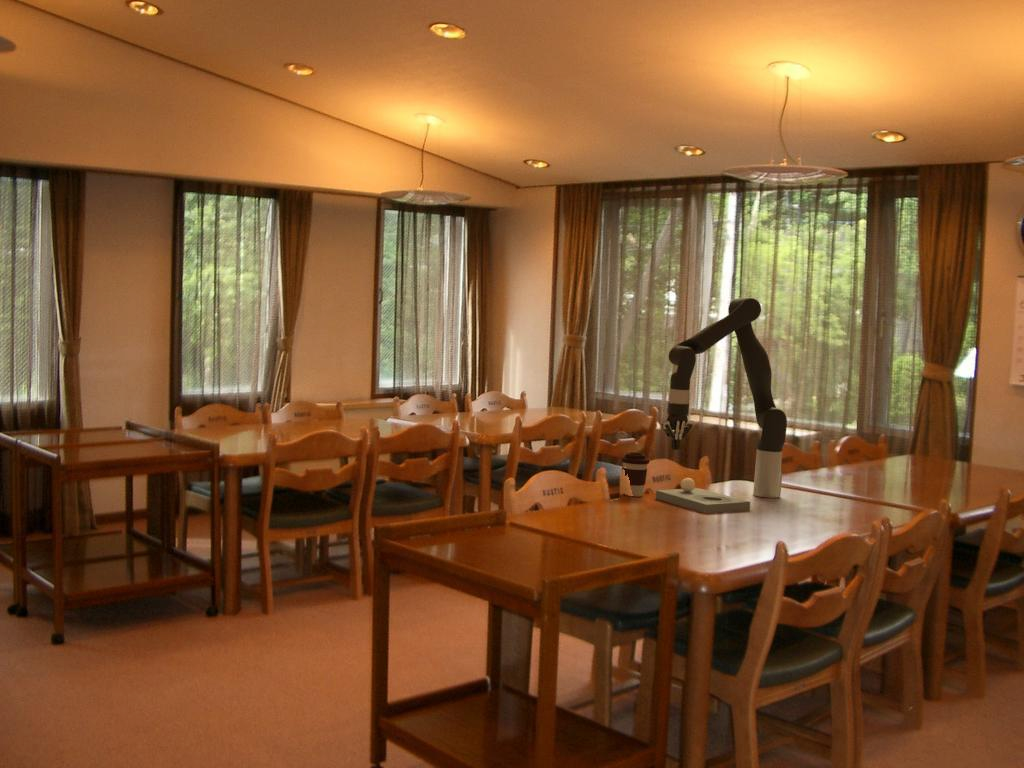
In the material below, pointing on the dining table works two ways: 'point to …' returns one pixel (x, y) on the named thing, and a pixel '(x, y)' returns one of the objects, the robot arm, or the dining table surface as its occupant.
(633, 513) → the dining table surface
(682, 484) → the ball
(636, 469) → the coffee cup
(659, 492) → the grey flat block
